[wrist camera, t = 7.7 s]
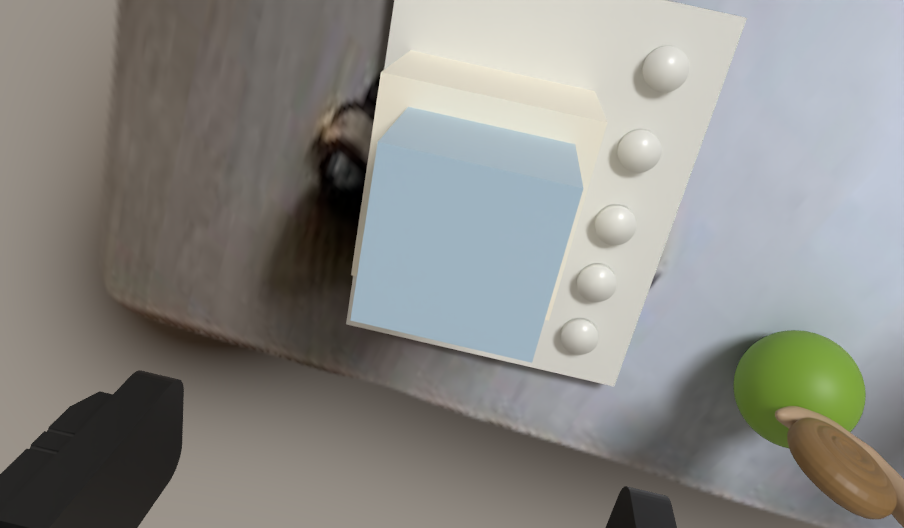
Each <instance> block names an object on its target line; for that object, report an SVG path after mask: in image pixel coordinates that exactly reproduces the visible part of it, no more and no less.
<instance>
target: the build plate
mask: <svg viewBox="0 0 904 528" xmlns="http://www.w3.org/2000/svg"><path fill="white" fill-rule="evenodd" d="M746 19H747V18H744V17H741V16H737V15H732V14H728V13H723V12H718V11H714V10H709V9H705V8H700V7H696V6H691V5H686V4H682V3H677V2H673V1H668V0H394V7H393V13H392V20H391V27H390V33H389V40H388V47H387V53H386V60H385V67H384V69H386V68H387V67H389V66H390V65H391V64H393V63H394V62H395V61H397V60H398V59H399V58H401V57H402V56H404V55H405V54H406V53H408V52H409V51H410V50H412V51H416V52H421V53H425V54H430V55H434V56H439V57H443V58H448V59H452V60H457V61H461V62H466V63H470V64H475V65H479V66H484V67H488V68H493V69H497V70H502V71H506V72H511V73H515V74H520V75H524V76H529V77H533V78H538V79H542V80H547V81H552V82H556V83H561V84H565V85H570V86H574V87H579V88H583V89H588V90H592V91H595V93H596V95H597V98H598V100H599V102H600V105H601V107H602V110H603V112H604V115H605V117H606V120H607V122H608V123H607V126H606V130H605V133H604V136H603V140H602V143H601V146H600V150H599V153H598V157H597V160H596V163H595V167H594V170H593V173H592V177H591V180H590V184H589V187H588V190H587V194H586V197H585V200H584V204H583V207H582V211H581V214H580V217H579V221H578V224H577V227H576V231H575V234H574V238H573V241H572V244H571V248H570V251H569V254H568V258H567V261H566V265H565V268H564V271H563V275H562V278H561V281H560V285H559V288H558V292H557V295H556V298H555V302H554V305H553V308H552V312H551V315H550V319H549V321H548V320H544V324H543V327H542V331H541V334H540V337H539V341H538V344H537V348H536V351H535V354H534V358H533V361H532V363H531V362H526V361H522V360H518V359H514V358H509V357H505V356H501V355H496V354H492V353H488V352H484V351H479V350H475V349H471V348H466V347H462V346H458V345H454V344H449V343H445V342H441V341H436V340H432V339H428V338H424V337H419V336H415V335H411V334H406V333H402V332H398V331H394V330H389V329H385V328H381V327H376V326H372V325H368V324H364V323H359V322H355V321H351V320H350V319H351V313H352V306H353V300H354V293H355V287H356V280H357V276H353V281H352V288H351V294H350V301H349V308H348V315H347V321H346V324H347V325H351V326H356V327H360V328H364V329H369V330H373V331H377V332H382V333H386V334H390V335H395V336H399V337H403V338H407V339H412V340H416V341H420V342H425V343H429V344H433V345H438V346H442V347H446V348H451V349H455V350H459V351H463V352H468V353H472V354H476V355H481V356H485V357H489V358H494V359H498V360H502V361H507V362H511V363H515V364H519V365H524V366H528V367H532V368H537V369H541V370H545V371H550V372H554V373H558V374H563V375H567V376H571V377H576V378H580V379H584V380H588V381H593V382H597V383H601V384H606V385H610V386H614V385H615V383H616V380H617V377H618V374H619V371H620V369H621V366H622V363H623V360H624V358H625V355H626V352H627V349H628V347H629V344H630V341H631V338H632V335H633V333H634V330H635V327H636V324H637V322H638V319H639V316H640V313H641V310H642V308H643V305H644V302H645V299H646V297H647V294H648V291H649V288H650V286H651V283H652V280H653V277H654V274H655V272H656V269H657V266H658V263H659V261H660V258H661V255H662V252H663V249H664V247H665V244H666V241H667V238H668V236H669V233H670V230H671V227H672V225H673V222H674V219H675V216H676V213H677V211H678V208H679V205H680V202H681V200H682V197H683V194H684V191H685V189H686V186H687V183H688V180H689V177H690V175H691V172H692V169H693V166H694V164H695V161H696V158H697V155H698V152H699V150H700V147H701V144H702V141H703V139H704V136H705V133H706V130H707V128H708V125H709V122H710V119H711V116H712V114H713V111H714V108H715V105H716V103H717V100H718V97H719V94H720V92H721V89H722V86H723V83H724V80H725V78H726V75H727V72H728V69H729V67H730V64H731V61H732V58H733V55H734V53H735V50H736V47H737V44H738V42H739V39H740V36H741V33H742V31H743V28H744V25H745V22H746Z"/></svg>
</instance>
